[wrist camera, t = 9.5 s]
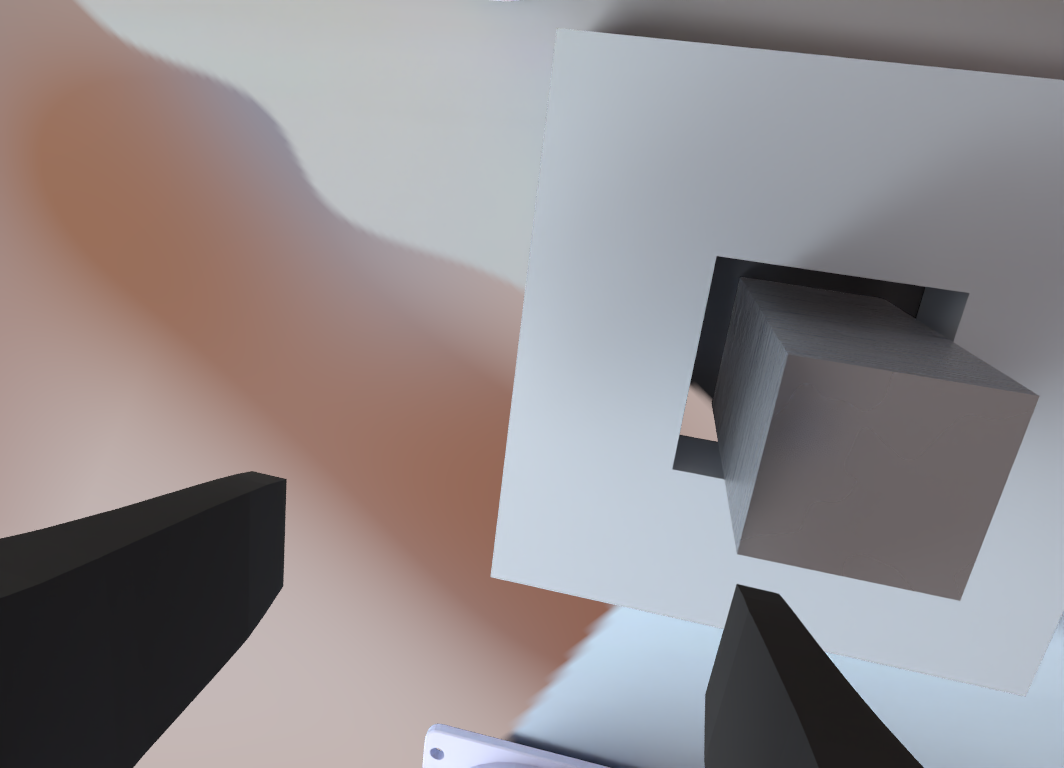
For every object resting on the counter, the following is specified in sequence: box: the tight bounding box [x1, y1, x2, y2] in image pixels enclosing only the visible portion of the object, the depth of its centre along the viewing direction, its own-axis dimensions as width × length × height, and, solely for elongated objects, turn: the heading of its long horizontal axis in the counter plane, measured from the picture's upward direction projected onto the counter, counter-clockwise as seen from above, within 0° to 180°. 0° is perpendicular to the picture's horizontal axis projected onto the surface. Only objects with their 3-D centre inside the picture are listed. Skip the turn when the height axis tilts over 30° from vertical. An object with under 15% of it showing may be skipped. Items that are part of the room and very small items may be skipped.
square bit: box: [712, 277, 1039, 601], centre depth 15 cm, size 4×4×8 cm
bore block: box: [491, 28, 1064, 697], centre depth 17 cm, size 14×14×2 cm
